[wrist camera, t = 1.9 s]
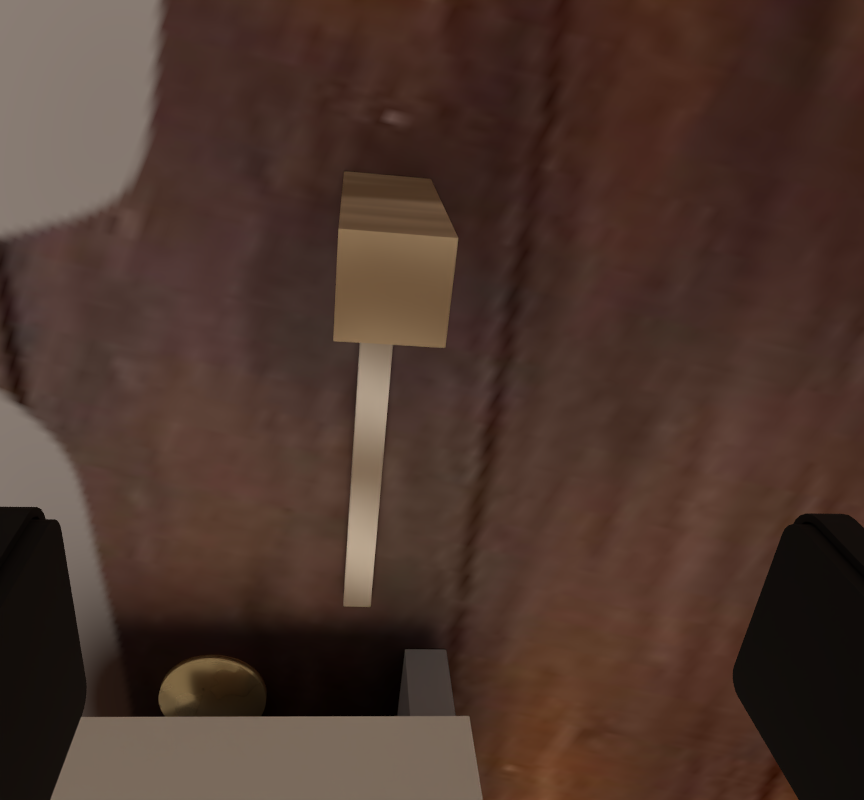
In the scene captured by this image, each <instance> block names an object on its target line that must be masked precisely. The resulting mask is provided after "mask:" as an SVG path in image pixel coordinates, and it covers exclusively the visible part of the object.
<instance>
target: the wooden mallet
mask: <svg viewBox="0 0 864 800" xmlns="http://www.w3.org/2000/svg"><path fill="white" fill-rule="evenodd" d="M457 245H458V236H457V234H456V232H455V230H454V228H453V226H452V223H451V221H450V219H449V217H448V215H447V213H446V211H445V208H444V206H443V204H442V202H441V200H440V198H439V195H438V193H437V191H436V189H435V187H434V185H433V183H432V180H431V179H426V178H415V177H404V176H393V175H382V174H371V173H359V172H348V171H344V177H343V187H342V198H341V208H340V219H339V230H338V251H337V273H336V294H335V316H334V337H333V341H340V342H357V343H359V359H358V375H357V391H356V406H355V422H354V438H353V453H352V469H351V485H350V500H349V516H348V532H347V547H346V563H345V579H344V599H343V606H348V607H371V595H372V583H373V571H374V560H375V548H376V536H377V524H378V513H379V501H380V489H381V478H382V466H383V454H384V442H385V431H386V419H387V407H388V396H389V384H390V372H391V360H392V349H393V345H406V346H422V347H438V348H445V346H446V337H447V329H448V321H449V312H450V304H451V295H452V287H453V279H454V270H455V262H456V254H457Z"/></svg>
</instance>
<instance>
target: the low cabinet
mask: <svg viewBox="0 0 864 800" xmlns="http://www.w3.org/2000/svg"><path fill="white" fill-rule="evenodd" d="M50 800H483V798H482V792H481V786H480V780H479V774H478V768H477V761H476V755H475V749H474V743H473V737H472V730H471V724H470V718H469V716H456V715H455V708H454V701H453V694H452V687H451V680H450V673H449V666H448V659H447V652H446V650H444V649H405V653H404V662H403V671H402V679H401V688H400V697H399V705H398V714H397V716H289V717H81V719H80V721H79V724H78V727H77V729H76V732H75V735H74V737H73V740H72V743H71V745H70V748H69V751H68V754H67V756H66V759H65V762H64V764H63V767H62V770H61V772H60V775H59V778H58V780H57V783H56V786H55V788H54V791H53V794H52V797H51V799H50Z"/></svg>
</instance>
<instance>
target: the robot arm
mask: <svg viewBox="0 0 864 800" xmlns="http://www.w3.org/2000/svg"><path fill="white" fill-rule="evenodd" d="M733 683H734V687H735V691H736V693H737V695H738V697H739V699H740V701H741V702H742V704H743V706H744V708H745V709H746V711H747V713H748V714H749V716H750V718H751V719H752V721H753V723H754V724H755V726H756V728H757V730H758V731H759V733H760V735H761V736H762V738H763V740H764V741H765V743H766V745H767V746H768V748H769V750H770V752H771V753H772V755H773V757H774V758H775V760H776V762H777V763H778V765H779V767H780V768H781V770H782V772H783V774H784V775H785V777H786V779H787V780H788V782H789V784H790V785H791V787H792V789H793V791H794V792H795V794H796V796H797V797H798V799H799V800H864V528H863V527H862V526H861V525H860V524H859V523H858V522H857V521H856V520H855V519H853V518H852V517H850V516H849V515H845V514H803V515H800V516H799V517H798V518H797V519H796V520H795V522H794V524H792V525H789V526H788V527H786V528H785V530H784V532H783V534H782V536H781V539H780V542H779V544H778V547H777V550H776V553H775V555H774V558H773V561H772V564H771V566H770V569H769V572H768V575H767V577H766V580H765V583H764V586H763V588H762V591H761V594H760V596H759V599H758V602H757V605H756V607H755V610H754V613H753V616H752V618H751V621H750V624H749V627H748V629H747V632H746V635H745V638H744V640H743V643H742V646H741V648H740V651H739V654H738V657H737V659H736V662H735V665H734V669H733ZM85 699H86V677H85V672H84V665H83V659H82V653H81V647H80V641H79V635H78V629H77V623H76V617H75V611H74V604H73V598H72V593H71V586H70V580H69V574H68V568H67V562H66V555H65V549H64V543H63V537H62V532H61V527H60V524H59V522H58V521H57V520H48V519H45V516H44V513H43V512H42V511H41V509H40V508H38V507H0V800H50V799H51V797H52V794H53V791H54V788H55V786H56V783H57V780H58V778H59V775H60V772H61V770H62V767H63V764H64V762H65V759H66V756H67V754H68V751H69V748H70V745H71V743H72V740H73V737H74V735H75V732H76V729H77V727H78V724H79V721H80V719H81V716H82V713H83V709H84V705H85Z"/></svg>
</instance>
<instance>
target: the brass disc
mask: <svg viewBox="0 0 864 800" xmlns="http://www.w3.org/2000/svg"><path fill="white" fill-rule="evenodd" d="M266 698H267V688H266V684H265V682H264V679H263V678H262V676H261V675H260V674H259V673H258V671H257V670H256V669H254V668H253V667H252V666H250V665H249V664H247V663H245V662H243V661H241V660H239V659H236V658H233V657H229V656H224V655H201V656H196V657H192V658H189V659H186V660H184V661H182V662H180V663H178V664H177V665H175V666H174V667H173V668H172V669H170V670H169V672H168V673H167V674H166V675H165V677H164V679H163V681H162V684H161V688H160V691H159V706H160V708H161V711H162V712H163V714H164V716H165V717H261V715H262V713H263V711H264V709H265V706H266Z"/></svg>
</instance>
